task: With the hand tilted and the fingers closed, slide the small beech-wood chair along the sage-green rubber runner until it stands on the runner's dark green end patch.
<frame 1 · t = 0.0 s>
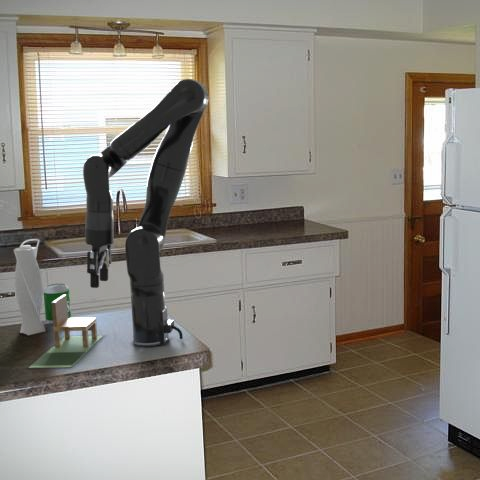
hand: (99, 284, 204), 17 cm above the counter, tool pointing down, fingers open, 8 cm apart
chair: (76, 342, 207), resting on mat
soda can: (58, 323, 228), on the counter
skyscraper: (33, 332, 219), on the counter
mat: (68, 351, 200), on the counter
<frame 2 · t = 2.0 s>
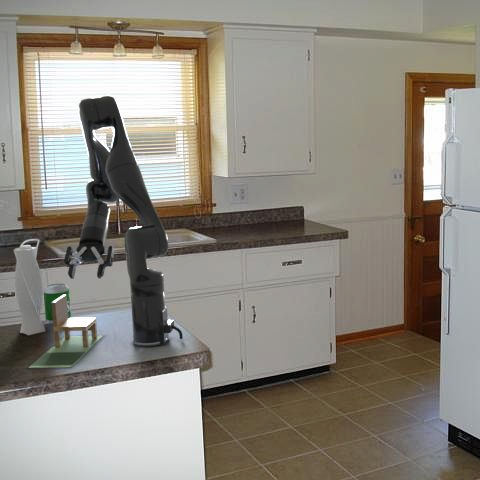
hand: (85, 277, 215), 17 cm above the counter, tool tilted 45°, fingers open, 7 cm apart
nothing on the counter moved.
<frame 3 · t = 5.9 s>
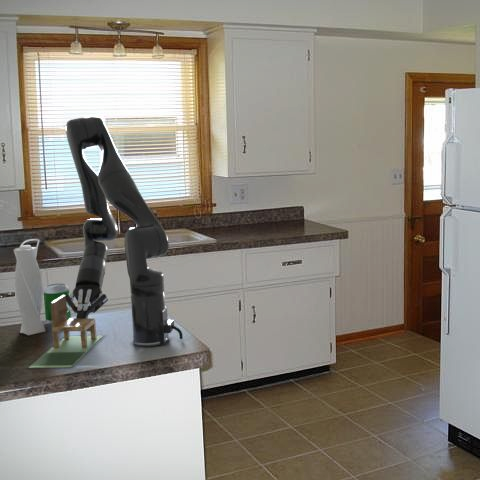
hand: (80, 324, 210), 4 cm above the counter, tool tilted 45°, fingers closed
chair: (75, 343, 206), resting on mat, touching gripper
everything else where it was.
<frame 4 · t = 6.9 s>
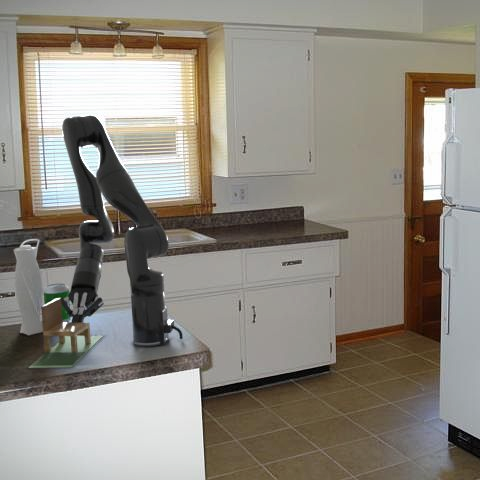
hand: (76, 328, 206), 4 cm above the counter, tool tilted 45°, fingers closed
chair: (68, 347, 202), resting on mat, touching gripper
everything else where it was.
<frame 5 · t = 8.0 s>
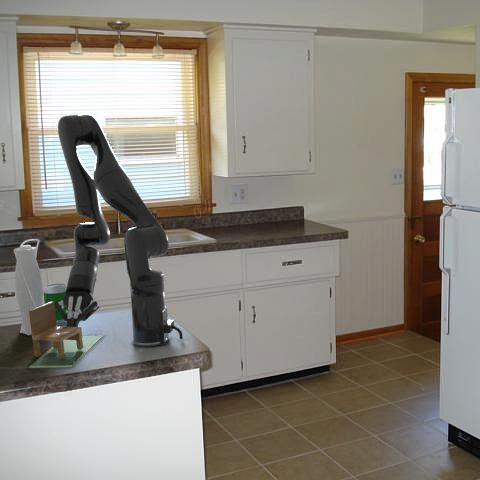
hand: (70, 332, 202), 4 cm above the counter, tool tilted 45°, fingers closed
chair: (59, 352, 198), resting on mat, touching gripper
everything else where it was.
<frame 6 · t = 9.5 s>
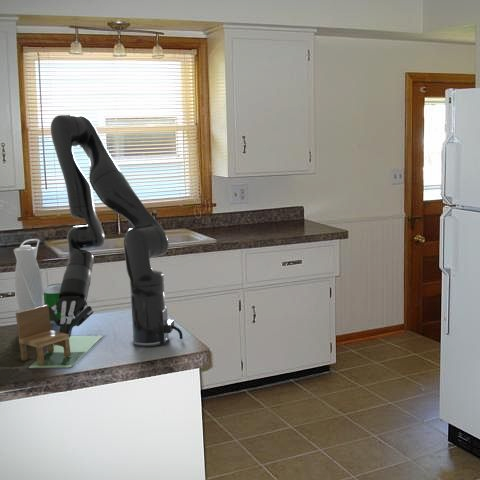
hand: (63, 338, 197), 4 cm above the counter, tool tilted 45°, fingers closed
chair: (46, 358, 193), resting on mat, touching gripper
everything else where it was.
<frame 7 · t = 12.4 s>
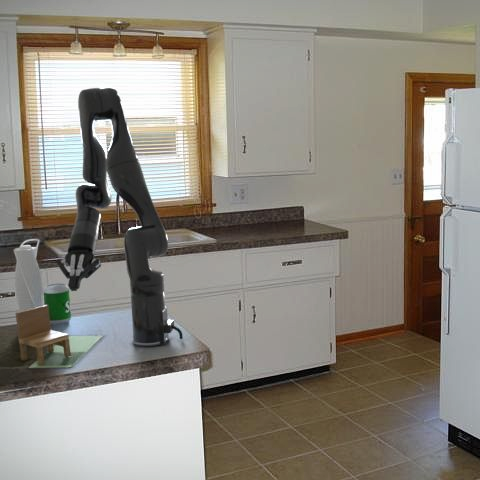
hand: (73, 289, 204), 16 cm above the counter, tool tilted 45°, fingers closed
chair: (46, 358, 193), resting on mat
everything else where it was.
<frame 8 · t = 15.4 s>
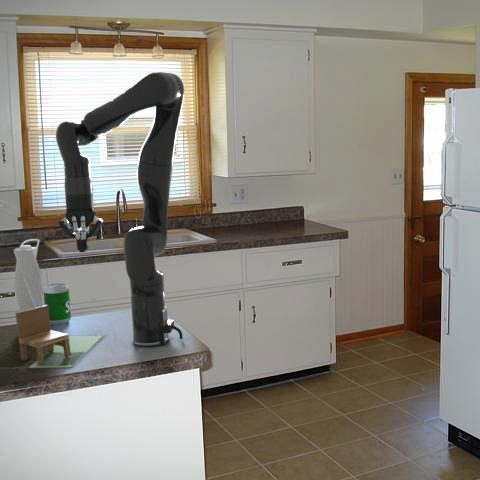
hand: (83, 251, 210), 25 cm above the counter, tool pointing down, fingers closed
nothing on the counter moved.
at the end: chair inside the target area on the mat (3.8 cm from its centre), point 0.2 cm above the mat's base; chair tilted 2°; chair moved 13.8 cm from its start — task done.
